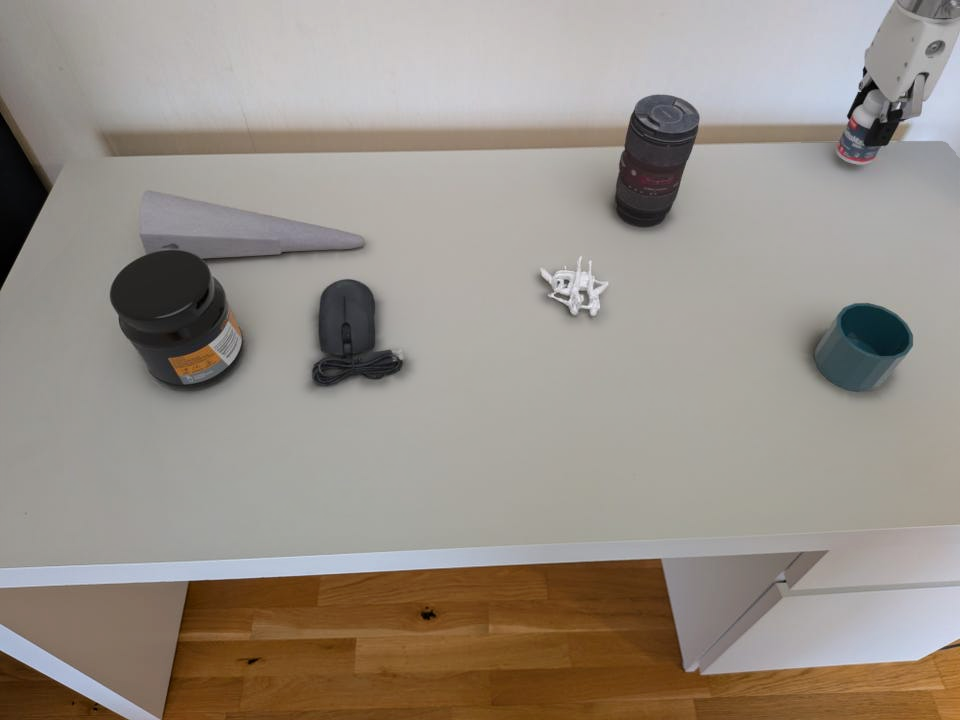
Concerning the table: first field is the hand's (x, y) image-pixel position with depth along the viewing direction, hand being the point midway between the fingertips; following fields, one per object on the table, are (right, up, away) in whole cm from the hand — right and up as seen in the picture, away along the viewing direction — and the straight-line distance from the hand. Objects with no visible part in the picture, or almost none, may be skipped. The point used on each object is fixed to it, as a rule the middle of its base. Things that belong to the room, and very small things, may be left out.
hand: (866, 130), depth 93 cm
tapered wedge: (-81, -16, -5) cm, 83 cm away
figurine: (-42, -24, -11) cm, 49 cm away
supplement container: (-85, -31, -17) cm, 92 cm away
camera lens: (-31, -12, -2) cm, 34 cm away
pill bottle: (0, -2, +3) cm, 4 cm away
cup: (-12, -32, -17) cm, 38 cm away
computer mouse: (-68, -28, -15) cm, 75 cm away
